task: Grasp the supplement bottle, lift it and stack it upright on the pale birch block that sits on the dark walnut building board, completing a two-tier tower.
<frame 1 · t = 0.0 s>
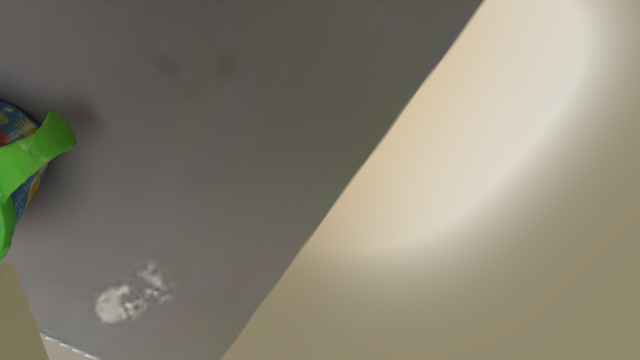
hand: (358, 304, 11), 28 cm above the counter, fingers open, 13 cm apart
snack cup: (2, 142, 39), on the counter
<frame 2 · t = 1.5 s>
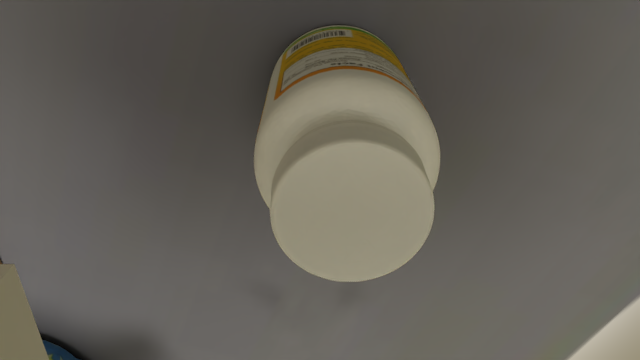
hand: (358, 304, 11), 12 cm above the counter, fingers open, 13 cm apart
supplement bottle: (337, 89, 22), on the counter
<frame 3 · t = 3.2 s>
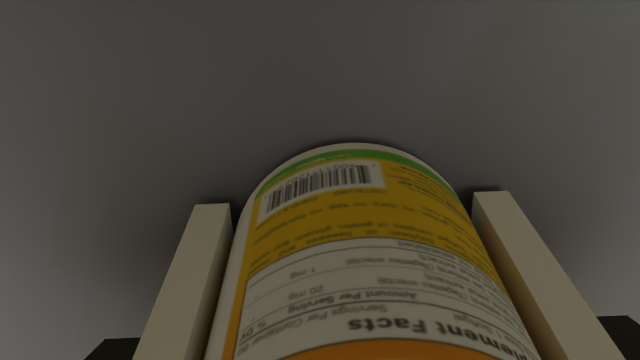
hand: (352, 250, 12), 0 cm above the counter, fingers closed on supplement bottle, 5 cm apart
supplement bottle: (350, 237, 13), on the counter, touching gripper
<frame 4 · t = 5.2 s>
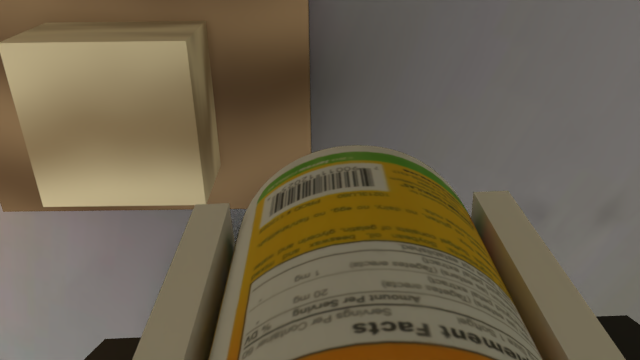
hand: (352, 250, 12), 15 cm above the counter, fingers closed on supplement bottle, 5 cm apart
supplement bottle: (353, 239, 13), point 15 cm above the counter, touching gripper
board: (142, 70, 26), on the counter
birch block: (138, 98, 25), point 1 cm above the counter, touching board
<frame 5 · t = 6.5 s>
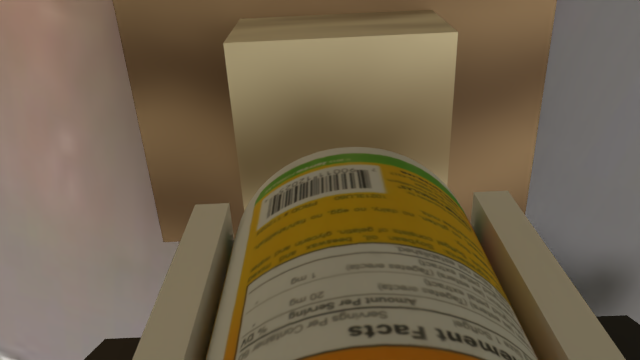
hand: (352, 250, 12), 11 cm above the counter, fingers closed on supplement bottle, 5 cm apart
supplement bottle: (351, 240, 13), point 11 cm above the counter, touching gripper
board: (336, 72, 22), on the counter
birch block: (338, 105, 21), point 1 cm above the counter, touching board
when the fingers open (7 cm above the counter, at t = 7.5 s): supplement bottle drops 1 cm, resting on birch block.
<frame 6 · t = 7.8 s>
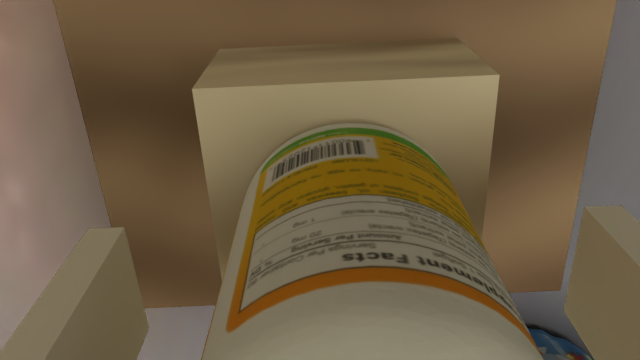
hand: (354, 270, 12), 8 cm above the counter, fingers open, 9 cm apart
supplement bottle: (348, 213, 14), point 5 cm above the counter, touching birch block
board: (338, 110, 18), on the counter
birch block: (341, 152, 17), point 1 cm above the counter, touching board, supplement bottle
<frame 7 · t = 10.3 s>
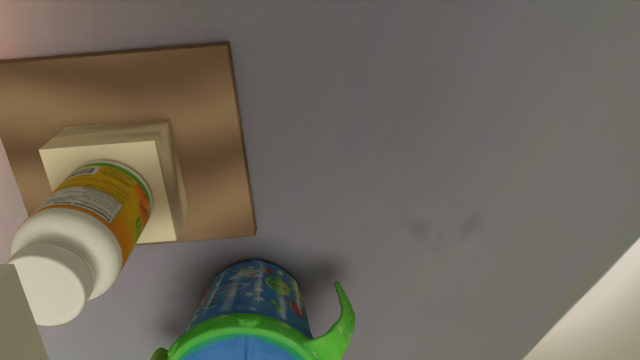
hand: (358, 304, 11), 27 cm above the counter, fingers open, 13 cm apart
snack cup: (256, 293, 44), on the counter
supplement bottle: (111, 196, 34), point 5 cm above the counter, touching birch block
board: (131, 151, 38), on the counter
birch block: (129, 170, 37), point 1 cm above the counter, touching board, supplement bottle
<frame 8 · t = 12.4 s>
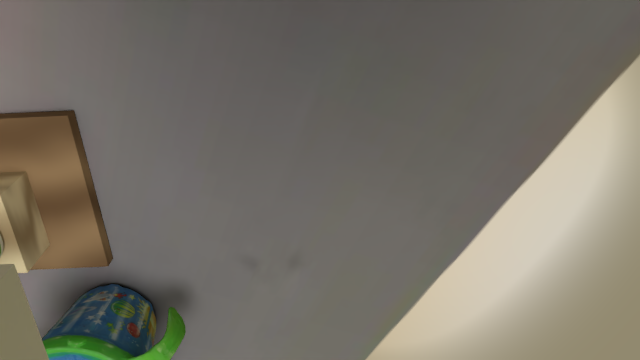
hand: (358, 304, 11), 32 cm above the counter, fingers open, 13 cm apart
snack cup: (119, 311, 51), on the counter
board: (0, 193, 45), on the counter
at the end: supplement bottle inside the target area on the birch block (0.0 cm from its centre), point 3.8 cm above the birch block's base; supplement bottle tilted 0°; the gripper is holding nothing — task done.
